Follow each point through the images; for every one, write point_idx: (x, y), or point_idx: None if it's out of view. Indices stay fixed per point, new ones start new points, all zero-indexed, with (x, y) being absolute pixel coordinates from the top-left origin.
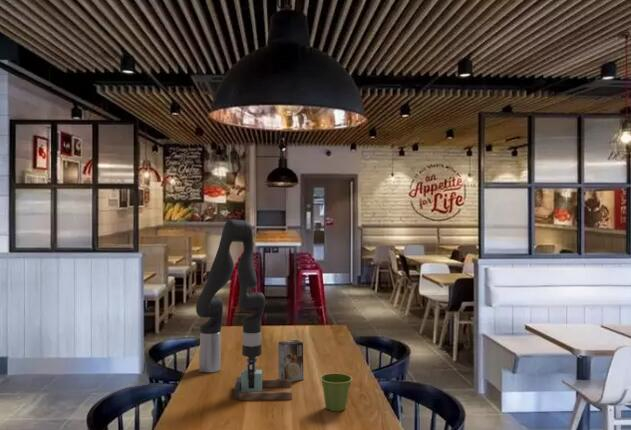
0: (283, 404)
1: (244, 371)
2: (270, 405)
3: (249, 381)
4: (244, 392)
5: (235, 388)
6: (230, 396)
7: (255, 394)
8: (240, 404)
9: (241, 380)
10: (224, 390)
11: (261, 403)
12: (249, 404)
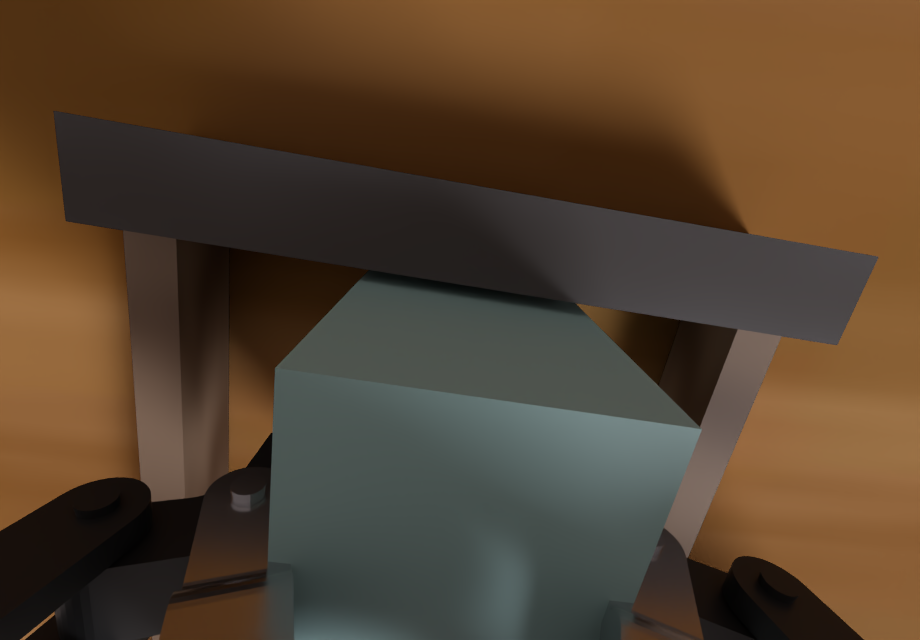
0: (52, 615)
1: (529, 484)
2: (12, 515)
3: (253, 457)
4: (173, 301)
5: (129, 149)
6: (352, 95)
7: (151, 432)
8: (13, 209)
9: (333, 311)
10: (651, 20)
11: (69, 444)
12: (24, 318)
